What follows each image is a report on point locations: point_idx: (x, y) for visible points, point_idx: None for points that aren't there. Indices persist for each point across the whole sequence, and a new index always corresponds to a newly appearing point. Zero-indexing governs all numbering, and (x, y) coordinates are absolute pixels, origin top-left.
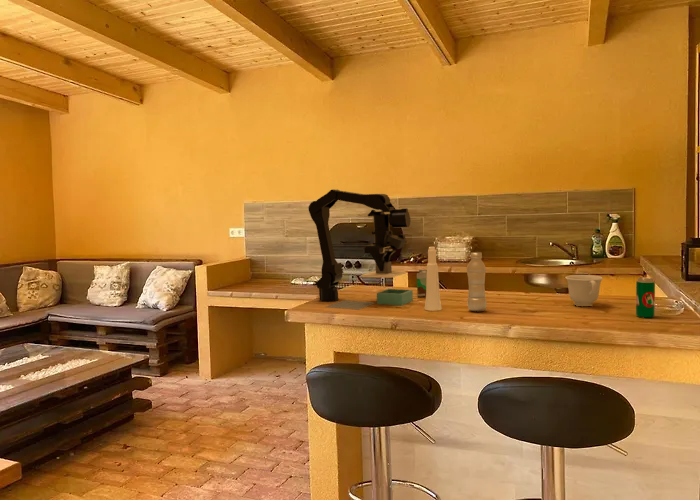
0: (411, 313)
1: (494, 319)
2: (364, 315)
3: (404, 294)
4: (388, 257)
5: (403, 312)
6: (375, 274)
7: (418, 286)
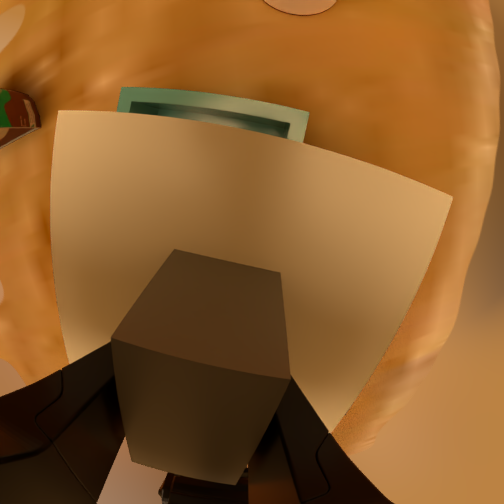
0: (407, 69)
1: None
2: (449, 262)
3: (261, 102)
4: (65, 434)
5: (394, 104)
6: (336, 376)
7: (6, 120)
